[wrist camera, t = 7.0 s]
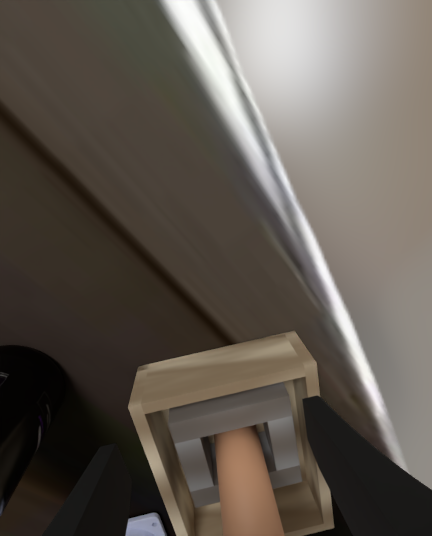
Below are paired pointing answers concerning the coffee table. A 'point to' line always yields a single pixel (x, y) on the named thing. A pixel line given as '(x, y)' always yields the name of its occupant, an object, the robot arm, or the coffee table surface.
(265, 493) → the peg
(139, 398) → the box
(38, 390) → the supplement bottle
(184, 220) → the coffee table surface
